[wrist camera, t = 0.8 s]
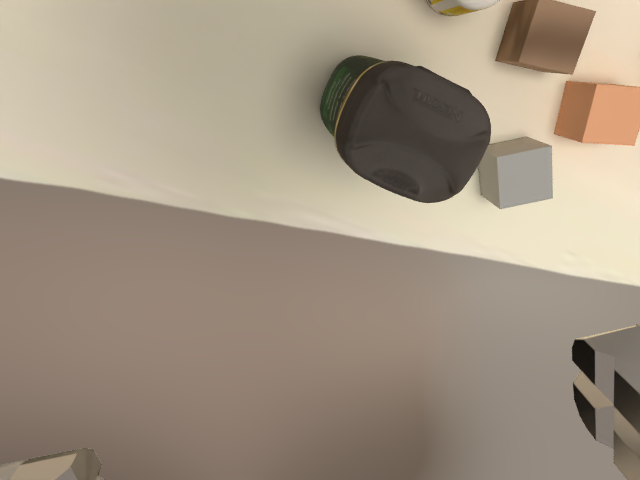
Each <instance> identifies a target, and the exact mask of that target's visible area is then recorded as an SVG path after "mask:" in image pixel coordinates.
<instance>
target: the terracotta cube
mask: <svg viewBox="0 0 640 480" xmlns="http://www.w3.org/2000/svg"><path fill="white" fill-rule="evenodd" d="M639 128H640V87H635V86H625V85H616V84H601V83H587V82H572V81H566V85H565V90H564V94H563V98H562V102H561V106H560V111H559V115H558V119H557V123H556V128H555V132H554V134H556V135H559V136H563V137H566V138H569V139H572V140H575V141H578V142H582V143H597V144H615V145H632V146H634V145H635V142H636V138H637V135H638V132H639Z"/></svg>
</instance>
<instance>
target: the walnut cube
mask: <svg viewBox="0 0 640 480" xmlns="http://www.w3.org/2000/svg"><path fill="white" fill-rule="evenodd" d="M595 13H596V11H593V10H589V9H585V8H581V7H577V6H573V5H569V4H565V3H561V2H557V1H554V0H523V1H519V2H514V3H513V6H512V9H511V12H510V15H509V19H508V22H507V25H506V28H505V31H504V35H503V38H502V41H501V44H500V47H499V50H498V54H497V57H496V60H495V61H499V62H504V63H508V64H512V65H516V66H521V67H525V68H529V69H534V70H538V71H542V72H550V73H562V74H573V72H574V69H575V67H576V64H577V61H578V58H579V56H580V53H581V50H582V48H583V45H584V42H585V40H586V37H587V34H588V31H589V29H590V26H591V23H592V21H593V18H594V15H595Z"/></svg>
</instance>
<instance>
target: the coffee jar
mask: <svg viewBox="0 0 640 480" xmlns="http://www.w3.org/2000/svg"><path fill="white" fill-rule="evenodd" d="M320 112H321V117H322V120H323V122H324V124H325V126H326V127H327V129H328V130H329V132H330V133H331V134H332V135H333V136H334V139H335V145H336V148H337V151H338V153H339V155H340V157H341V158H342V159H343V160H344V162H345V163H346V164H347V165H348V166H349V167H350V168H351V169H352V170H353V171H354V172H355V173H357V174H358V175H360V176H361V177H363V178H364V179H366V180H368V181H370V182H372V183H374V184H376V185H378V186H380V187H382V188H384V189H386V190H388V191H391V192H393V193H396V194H398V195H401V196H404V197H406V198H409V199H412V200H415V201H418V202H423V203H434V202H440V201H444V200H447V199H449V198H451V197H453V196H454V195H456V194H457V193H459V192H460V191H461V190H462V189H463V188H464V186H465V185H466V184H467V182H468V181H469V179H470V178H471V176H472V175H473V173H474V172H475V170H476V168H477V167H478V165H479V163H480V161H481V159H482V157H483V155H484V153H485V151H486V149H487V147H488V144H489V142H490V136H491V124H490V119H489V116H488V113H487V111H486V109H485V108H484V106H483V105H482V104H481V103H480V102H479V101H478V100H477V99H476V98H475V97H474V96H472V94H471V93H470V91H469V90H467V89H465V88H463V87H461V86H459V85H457V84H455V83H453V82H451V81H449V80H447V79H445V78H443V77H441V76H439V75H437V74H435V73H434V72H432V71H430V70H428V69H426V68H424V67H422V66H413V65H410V64H407V63H403V62H399V61H382V60H378V59H375V58H371V57H367V56H352V57H349V58H347V59H345V60H344V61H342V62H341V63H340V64H339V65H338V66H337V68H336V69H335V71H334V72H333V74H332V76H331V78H330V80H329V82H328V84H327V86H326V88H325V91H324V94H323V97H322V100H321V106H320Z"/></svg>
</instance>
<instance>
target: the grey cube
mask: <svg viewBox="0 0 640 480" xmlns="http://www.w3.org/2000/svg"><path fill="white" fill-rule="evenodd" d="M478 166H479V179H480V192H481V195H482V196H483V197H485V198H486V199H487V200H489V201H490V202H491V203H493V204H494V205H495V206H497V207H498V208H499V209H503V208H508V207H513V206H518V205H523V204H527V203H532V202H537V201H542V200H547V199H551V198H553V190H552V146H551V145H548V144H545V143H542V142H540V141H537V140H534V139H531V138H529V137H523V138H518V139H514V140H509V141H504V142H499V143H494V144H490V145H488V147H487V149H486V151H485V153H484V155H483V157H482V159H481V161H480V163H479V165H478Z"/></svg>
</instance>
